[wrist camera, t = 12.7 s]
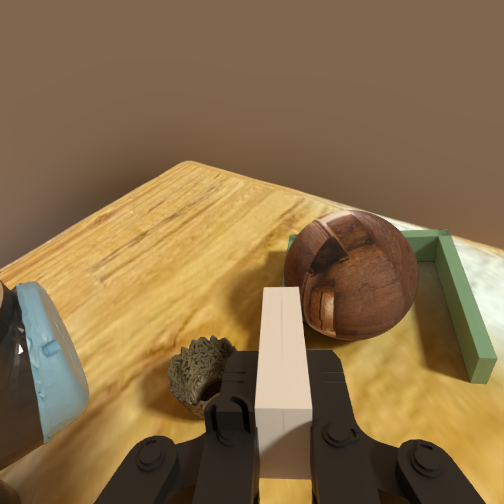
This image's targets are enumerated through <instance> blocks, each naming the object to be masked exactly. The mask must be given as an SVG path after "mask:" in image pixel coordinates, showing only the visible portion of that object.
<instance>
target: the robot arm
mask: <svg viewBox="0 0 504 504" xmlns="http://www.w3.org/2000/svg"><path fill="white" fill-rule="evenodd" d="M88 401H89V388H88V384H87V380H86V377H85V373H84V371H83V368H82V365H81V362H80V360H79V357H78V355H77V352H76V350H75V348H74V345H73V343H72V340H71V338H70V336H69V334H68V332H67V329H66V327H65V325H64V323H63V321H62V319H61V317H60V315H59V313H58V311H57V309H56V307H55V306H54V304H53V302H52V300H51V298H50V297H49V295H48V294H47V292H46V291H45V289H44V288H43V287H42V286H40V285H39V283H36V282H27V283H25V284H23V283H19V284H18V285H16V286H15V287H14V288H13V289H12V290H9V289H8V288H7V287H6V286H5V285H4V284H3V283H2V282H1V281H0V471H1V470H3V469H4V468H6V467H7V466H9V465H11V464H12V463H14V462H15V461H17V460H19V459H20V458H22V457H23V456H25V455H27V454H28V453H30V452H31V451H33V450H35V449H36V448H38V447H39V446H41V445H43V444H46V443H48V442H49V441H50V440H51V438H52V436H54V435H55V434H57V433H58V432H59V431H61V430H62V429H64V428H65V427H66V426H68V425H69V424H71V423H72V422H73V421H75V420H76V419H78V418H79V417H80V416H81V415H82V414H83V412H84V411H85V409H86V407H87V405H88ZM203 412H204V419H205V426H206V432H205V433H204V434H202V435H201V436H199V437H198V438H195V439H193V440H190V441H186V442H183V443H179V444H176V445H175V444H174V442H173V441H172V440H171V439H169V438H167V437H165V436H152V437H148V438H145V439H144V440H142V441H140V442H139V443H137V444H136V445H135V446H134V447H133V448H132V449H131V450H130V451H129V453H128V454H127V456H126V457H125V459H124V460H123V462H122V463H121V465H120V466H119V467H118V469H117V470H116V472H115V473H114V475H113V476H112V478H111V479H110V481H109V482H108V484H107V485H106V486H105V488H104V489H103V491H102V492H101V494H100V495H99V497H98V498H97V500H96V501H95V502H94V504H259V503H260V496H259V478H276V479H311V481H312V504H486V503H485V502H484V500H483V499H482V498H481V496H480V495H479V494H478V492H477V491H476V490H475V488H474V487H473V486H472V484H471V483H470V482H469V480H468V479H467V478H466V476H465V475H464V474H463V473H462V471H461V470H460V469H459V467H458V466H457V465H456V463H455V462H454V461H453V459H452V458H451V457H450V456H449V455H448V454H447V453H446V452H445V451H444V450H443V449H442V448H440V447H438V446H437V445H435V444H433V443H431V442H428V441H424V440H421V439H417V440H409V441H406V442H404V443H402V445H401V446H400V447H399V448H397V447H393V446H390V445H387V444H384V443H381V442H378V441H376V440H374V439H372V438H371V437H369V436H367V435H366V434H365V433H364V432H363V431H362V430H361V429H360V428H359V426H358V425H357V423H356V420H355V418H354V414H353V409H352V405H351V401H350V397H349V393H348V389H347V385H346V381H345V376H344V374H343V368H342V364H341V360H340V359H339V358H338V356H337V355H336V354H335V353H334V352H333V351H332V350H306V348H305V339H304V330H303V321H302V312H301V304H300V295H299V287H264V291H263V304H262V318H261V331H260V344H259V351H234V352H233V353H232V354H231V355H230V357H229V358H228V359H227V360H226V365H225V370H224V375H223V380H222V385H221V390H220V395H219V396H216V397H214V398H213V399H212V400H211V401H210V402H209V403H207V405H206V407H205V409H204V411H203ZM0 504H21V501H20V499H19V496H18V495H17V493H16V491H15V490H14V489H13V488H12V487H11V486H10V485H8V484H7V483H5V482H3V481H1V480H0Z"/></svg>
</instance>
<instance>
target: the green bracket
mask: <svg viewBox="0 0 504 504" xmlns="http://www.w3.org/2000/svg"><path fill="white" fill-rule="evenodd" d="M400 232H401V233H402V234H403V235H404V237H405V238H406V239H407V241H408V242H409V244H410V246H411V247H412V249H413V252H414V254H415V257H416V261H434V262H435V265H436V268H437V272H438V275H439V279H440V282H441V285H442V289H443V292H444V296H445V299H446V302H447V306H448V309H449V313H450V316H451V319H452V323H453V326H454V330H455V333H456V336H457V340H458V343H459V346H460V350H461V353H462V357H463V360H464V363H465V367H466V370H467V374H468V377H469V380H470V383H480V384H487V382H488V380H489V377H490V375H491V373H492V370H493V368H494V365H495V363H496V361H497V356H496V354H495V351H494V348H493V346H492V343H491V341H490V338H489V335H488V333H487V330H486V327H485V325H484V322H483V319H482V317H481V314H480V311H479V309H478V306H477V303H476V301H475V298H474V295H473V293H472V290H471V288H470V285H469V282H468V280H467V277H466V274H465V272H464V269H463V266H462V264H461V261H460V258H459V256H458V253H457V250H456V248H455V245H454V242H453V240H452V237H451V235H450V232H449V230H448V229H439V230H411V231H400ZM296 236H297V235H290V236H289V242H288V248H287V253H288V250H289V248H290V246H291V244H292V242H293V241H294V239H295V238H296ZM286 256H287V254H286ZM281 287H285V284H284V271H283V277H282V283H281Z"/></svg>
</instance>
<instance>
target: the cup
mask: <svg viewBox="0 0 504 504" xmlns="http://www.w3.org/2000/svg"><path fill="white" fill-rule="evenodd" d="M210 341H211V342H210ZM210 341H209V340H208V339H207V338H205V337H200V338H199V339H198V341H197V340H192V342H191V344H190V346H189V349H187V348H186V347H181V354H179V355H175V356H174V357H172V358H171V360H170V368H169V369H167V376H168V377H169V379H170V386H171V388H170V387H169V389H170V391H171V392H172V393H173V395H174V396H175V397H176V398H177V399H178V400H179V401H180V402H181V403H182V404H183V405H184V406H185V407H186V408H187V409H188V410H189V411H190V412H191V413H193V414H194V415H196V416H198V417H199V418H202V419H204V412H203V411H204V409H205V407H206V405H207V403H209V402H210V401H211V400H212V399H213V398H214V397H216V396H219V395H220V390H221V385H222V380H223V375H224V370H225V365H226V360H227V359H228V358H229V357H230V355H231V354H232V353H233V352H234V351H237V349H236V347H235V346H232V344H231V343H230V341H229V340H227V339H226V338H222V339H221V340H218V339H217V338H216V337H215V336H213V335H212V336H211V338H210Z"/></svg>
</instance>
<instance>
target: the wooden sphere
mask: <svg viewBox="0 0 504 504" xmlns="http://www.w3.org/2000/svg"><path fill="white" fill-rule="evenodd" d="M418 278H419V274H418V265H417V261H416V257H415V254H414V252H413V249H412V247H411V246H410V244H409V242H408V241H407V239H406V238H405V237H404V235H403V234H402V233H401V232H400V231H399V230H398V229H397V228H396V227H395V226H394V225H392V224H391V223H389V222H388V221H386V220H385V219H383V218H381V217H379V216H376V215H374V214H371V213H367V212H363V211H355V210H345V211H337V212H333V213H329V214H326V215H324V216H321V217H319V218H317V219H316V220H314V221H312V222H311V223H310V224H308V225H307V226H306V227H305V228H304V229H303V230H302V231H301V232H300V233H299V234H298V235H297V236H296V238H295V239H294V241H293V242H292V244H291V246H290V248H289V250H288V253H287V256H286V260H285V265H284V284H285V287H299V295H300V304H301V312H302V320H303V321H304V322H305V323H307V324H308V325H309V326H310V327H312V328H313V329H315V330H316V331H318V332H320V333H322V334H324V335H326V336H329V337H332V338H336V339H340V340H350V341H354V340H364V339H369V338H373V337H376V336H378V335H381V334H383V333H385V332H386V331H388V330H390V329H391V328H393V327H394V326H395V325H396V324H397V323H399V322H400V321H401V320H402V318H403V317H404V316H405V315H406V313H407V312H408V311H409V309H410V307H411V305H412V303H413V301H414V299H415V296H416V292H417V288H418Z"/></svg>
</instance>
